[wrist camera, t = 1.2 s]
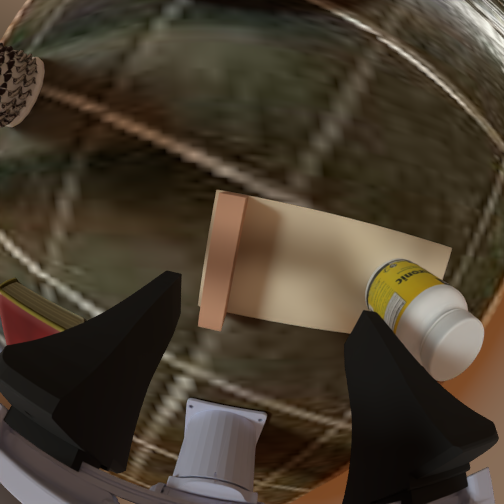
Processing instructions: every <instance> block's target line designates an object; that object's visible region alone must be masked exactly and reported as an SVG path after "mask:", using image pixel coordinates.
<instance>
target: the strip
mask: <svg viewBox="0 0 504 504" xmlns="http://www.w3.org/2000/svg"><path fill="white" fill-rule="evenodd" d="M451 250H452V248H450V247H447V246H444V245H441V244H438V243H435V242H431V241H428V240H425V239H422V238H418V237H415V236H412V235H408V234H405V233H401V232H398V231H395V230H391V229H387V228H384V227H380V226H377V225H373V224H369V223H366V222H362V221H358V220H354V219H350V218H346V217H342V216H338V215H334V214H330V213H326V212H322V211H318V210H313V209H309V208H305V207H300V206H296V205H292V204H287V203H282V202H278V201H273V200H268V199H263V198H258V197H254V196H248V195H243V194H238V193H233V192H228V191H222V190H216V196H215V201H214V207H213V212H212V218H211V224H210V230H209V236H208V242H207V248H206V254H205V261H204V267H203V274H202V281H201V288H200V295H199V302H198V306H201V308H200V315H199V323H198V326H199V327H204V328H208V329H212V330H217V331H221V329H222V326H223V322H224V319H225V316H226V313H227V312H229V313H233V314H238V315H243V316H248V317H253V318H258V319H263V320H269V321H274V322H280V323H285V324H291V325H297V326H303V327H309V328H316V329H322V330H329V331H336V332H343V333H350V334H351V332H352V330H353V328H354V326H355V325H356V323H357V321H358V319H359V317H360V315H361V313H362V311H363V310H367V311H369V310H368V308H367V305H366V301H365V291H366V287H367V283H368V281H369V279H370V277H371V275H372V274H373V272H374V271H375V270H376V269H377V268H378V267H379V266H380V265H382V264H383V263H385V262H387V261H389V260H392V259H397V258H402V259H407V260H409V261H412V262H413V263H415V264H417V265H419V266H420V267H422V268H423V269H425V270H427V271H428V272H430V273H432V274H433V275H435V276H436V277H438V278H440V279H441V280H442V279H443V276H444V273H445V270H446V267H447V264H448V260H449V257H450V254H451Z"/></svg>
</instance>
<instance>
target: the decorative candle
mask: <svg viewBox="0 0 504 504" xmlns="http://www.w3.org/2000/svg"><path fill="white" fill-rule="evenodd" d="M44 74H45V69H44V62H43V61H42V60H41V59H40V58H38V57H32V54H29V55H28V56H27V54H26V53H24V51H23V50H21V51H19V52H18V50H15V51H14V50H13V48H12V47H11V46H9V47H7V46H5V47H4V46H3V43H0V127H4V126H7V127H14V126H16V125H18V124H20V123H21V122H22V121H23V120H24V118H25V117H26V116H27V115H28V114H29V112H30V111H31V109H32V107H33V105H34V104H35V102H36V100H37V98H38V95H39V93H40V90H41V88H42V85H43V79H44Z"/></svg>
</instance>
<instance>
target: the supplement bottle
mask: <svg viewBox="0 0 504 504" xmlns="http://www.w3.org/2000/svg"><path fill="white" fill-rule="evenodd" d="M365 301H366V305H367V308H368V310H369V311H373V312H377V313H378V314H379V315H380V316H381V318H382V319H383V320H384V321H385V322H386V323H387V325H388V326H389V327H390V328H391V330H392V331H393V332H394V333H395V335H396V336H397V337H398V338H399V340H400V341H401V342H402V343H403V344H404V346H405V347H406V348H407V349H408V351H409V352H410V353H411V354H412V355H413V357H414V358H415V359H416V360H417V361H418V362H419V363H420V365H421V366H424V368H425V369H426V371H427V372H428V373H429V374H430V375H431V376H432V377H433V378H434V379H435V380H437V381H447V380H450V379H453V378H455V377H456V376H458V375H459V374H461V373H462V372H463V371H464V370H466V369H467V368H468V367H469V366H470V364H471V363H472V362H473V361H474V359H475V358H476V356H477V355H478V353H479V351H480V349H481V346H482V343H483V338H484V328H483V325H482V323H481V322H480V321H479V320H478V319H477V318H476V317H474V316H473V315H472V314H471V313H470V312H468V308H467V303H466V301H465V299H464V297H463V295H462V294H461V293H460V292H459V291H458V290H457V289H455V288H454V287H452V286H451V285H449V284H448V283H446V282H445V281H443V280H441V279H440V278H438V277H436V276H435V275H433V274H432V273H430V272H428V271H427V270H425V269H423V268H422V267H420V266H419V265H417V264H415V263H413V262H412V261H409V260H407V259H402V258H397V259H392V260H389V261H387V262H385V263H383V264H382V265H380V266H379V267H378V268H377V269H376V270H375V271H374V272H373V274H372V275H371V277H370V279H369V281H368V283H367V287H366V291H365Z"/></svg>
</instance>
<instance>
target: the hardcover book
mask: <svg viewBox="0 0 504 504" xmlns="http://www.w3.org/2000/svg"><path fill="white" fill-rule="evenodd" d="M0 315H1V321H2V326H3V330H4V335H5V339H6V343H7V345H12V344H17V343H22V342H27V341H32V340H36V339H39V338H43V337H46V336H50V335H53V334H56V333H59V332H62V331H64V330H67V329H69V328H71V327H74V326H76V325H79V324H81V323H84V318H83V317H81V316H79V315H77V314H75V313H73V312H71V311H69V310H67V309H65V308H63V307H61V306H59V305H57V304H55V303H53V302H51V301H49V300H48V299H46V298H44V297H42V296H40V295H39V294H37V293H35V292H33V291H32V290H30V289H28V288H26V287H25V286H23V285H21V284H20V283H18V282H17V279H16V278H12V279H10V280H7V281H5V282H3V283H2V284H0Z"/></svg>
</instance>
